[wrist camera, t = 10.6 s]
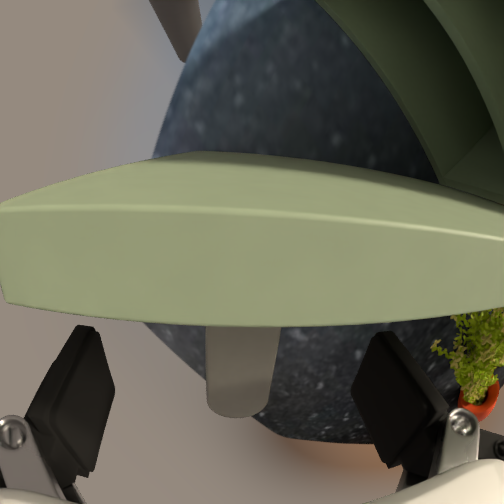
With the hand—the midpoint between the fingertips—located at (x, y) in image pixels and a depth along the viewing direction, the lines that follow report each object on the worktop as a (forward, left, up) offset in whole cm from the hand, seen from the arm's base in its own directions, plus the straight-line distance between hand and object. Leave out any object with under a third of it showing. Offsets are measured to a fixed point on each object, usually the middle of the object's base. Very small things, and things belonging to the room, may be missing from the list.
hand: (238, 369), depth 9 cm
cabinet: (-1, +30, -19) cm, 36 cm away
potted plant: (+48, +18, -19) cm, 54 cm away
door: (+6, +9, -19) cm, 22 cm away
